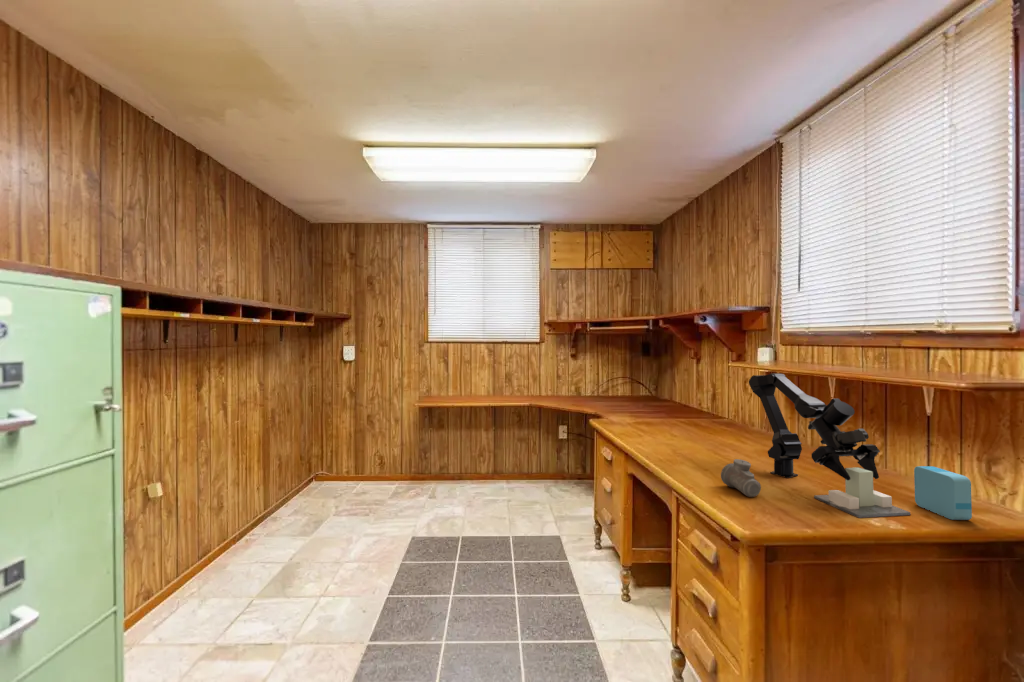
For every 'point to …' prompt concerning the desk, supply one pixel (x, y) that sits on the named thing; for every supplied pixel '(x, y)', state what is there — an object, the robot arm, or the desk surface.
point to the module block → (860, 485)
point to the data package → (943, 492)
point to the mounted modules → (853, 501)
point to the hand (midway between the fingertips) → (863, 479)
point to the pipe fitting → (741, 478)
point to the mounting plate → (865, 509)
